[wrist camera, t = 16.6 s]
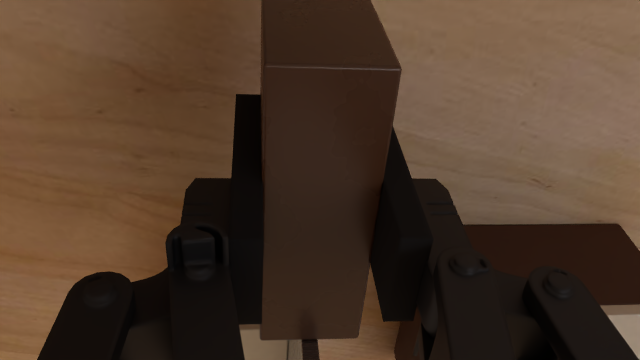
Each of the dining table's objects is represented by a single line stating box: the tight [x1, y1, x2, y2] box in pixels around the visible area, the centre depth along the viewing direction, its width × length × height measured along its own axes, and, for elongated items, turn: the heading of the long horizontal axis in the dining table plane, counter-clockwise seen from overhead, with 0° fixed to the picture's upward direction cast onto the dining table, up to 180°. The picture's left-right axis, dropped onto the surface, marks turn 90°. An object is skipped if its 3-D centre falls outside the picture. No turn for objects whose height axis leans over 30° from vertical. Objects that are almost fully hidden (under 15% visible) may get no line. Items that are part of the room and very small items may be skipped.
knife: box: [260, 0, 402, 360], centre depth 21 cm, size 23×3×6 cm, turn 176°
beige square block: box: [394, 224, 640, 360], centre depth 30 cm, size 10×10×6 cm
